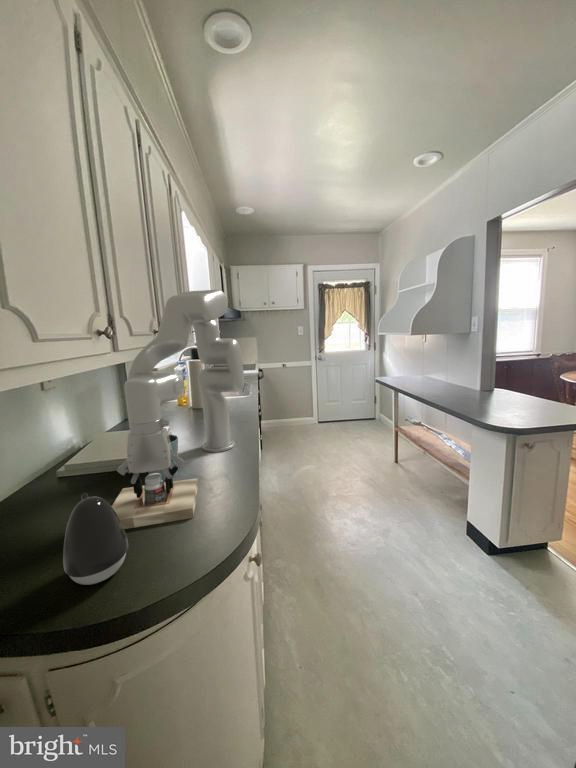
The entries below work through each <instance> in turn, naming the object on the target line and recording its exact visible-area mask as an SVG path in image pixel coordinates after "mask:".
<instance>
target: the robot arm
mask: <svg viewBox="0 0 576 768" xmlns="http://www.w3.org/2000/svg"><path fill="white" fill-rule="evenodd" d="M228 304H229V300H228V297H227V295H226V294H225V293H224V292H223V290H220V289H205V290H203V289H202V290H190V291H188V290H187V291H184V292H181V293H179V294H177V295H176V294H175V295H172V296H171V297H169V298H168V299H167V300H166V303H165V307H164V310H163V313H162V316H161V320H160V323H159V326H158V331H157V334H156V336H155V338H154V339H152V340H150V342H149V343H148V344H146V345H145V346H144V347H143V348H142V350H141V351H140V352H139V353H138V354H137V355H136V356H135V358H134V359H133V362H132V364H131V367H130V370H129V374H128V376H127V377H128V378H127V380H126V381H125V382H124V386H123V388H124V390H123V391H124V396H125V403H126V404H125V405H126V413H127V419H128V427H129V433H127V437H126V438H127V439H126V459H125V460H124V462H122V463H121V464H120V465H119V467H118V468H117V470H116V471H117V472H118V474H120V476H121V475H122V476H123V477H124V478H125V479H126V480H128V481H130V483H131V484H132V485H133V486H132V487H134V494H136V495H137V498H140V497H141V495H142V493H143V488H142V486H143V482H142V478H141V477H140V474H143V473H149V472H151V471H159V470H162V471H163V472H164V474H165V475H166V479H165V481H164V483H165V484H166V492H167V494H169V493H170V491H171V489H172V488H173V482H174V480H173V479H174V478H172V476H173V475H174V474H175V473H176V472H177V470H178V471H179V469H180V468H181V467H182V466H183V464H184V462H185V461H184V459H183V458H181V457H180V456H179V455H178V456H177V455H176V454H174V453H172V448H171V442H170V438H169V435H170V434H169V432H168V429H167V428H166V427H167V426H168V427H169V423H170V421H169V420H167V419H164V417H162V408H161V403H165V402H171V401H175V400H177V399H178V398H179V397H181V396H182V394H183V392H184V387H185V385H184V380H183V379H182V377H181V376H180V375H178V374H176V373H171V372H153V369H154V368H155V367H156V366H157V365H158V364H159V363H161V362H162V361H163V360H165V359H167V358H169V357H172V356H173V355H175V354H177V353H180V352H181V351H183V350H185V349H186V348H187V346H188V343H189V338H190V334H191V329H192V328H193V331H194V336H195V342H196V344H195V345H196V349H197V355H198V360H199V362H200V363H201V364H203V365H209V366H210V365H216V366H217V365H218V367H205V368H203V369H201V370H200V371H199V372H198V375H197V384H198V388H199V391H200V395H201V400H202V401H201V402H202V403H201V404H202V413H203V423H204V432H205V434H204V435H205V442H204V443H203V444H202V450H203V451H204V452H208V453H219V452H220V453H221V452H225V451H228V450H231V449H232V448H234V447H235V446H236V444H235V440H233V439H231V429H230V414H229V403H228V402H229V401H228V400H227V398H226V397H225V395H224V394H223V393H238V392H241V391H242V390H243V389H244V386H245V373H244V372H245V371H244V365H243V353H242V348H241V346H240V343H239V342H238V340H236V339H235V338H230V337H228V338H221V337H220V334H219V333H220V331H219V326H218V325H219V324H218V323H217V322H216V320H217V319H219V318H221V317H222V316H224V315H225V314H226V312H227V310H228V307H229V305H228ZM219 365H227V367H225V366H224V367H223V366H222V367H221V366H220V367H219ZM172 461H174V462H176V464H175V465H174V466H173V468H171V467H170V466H171V462H172Z"/></svg>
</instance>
